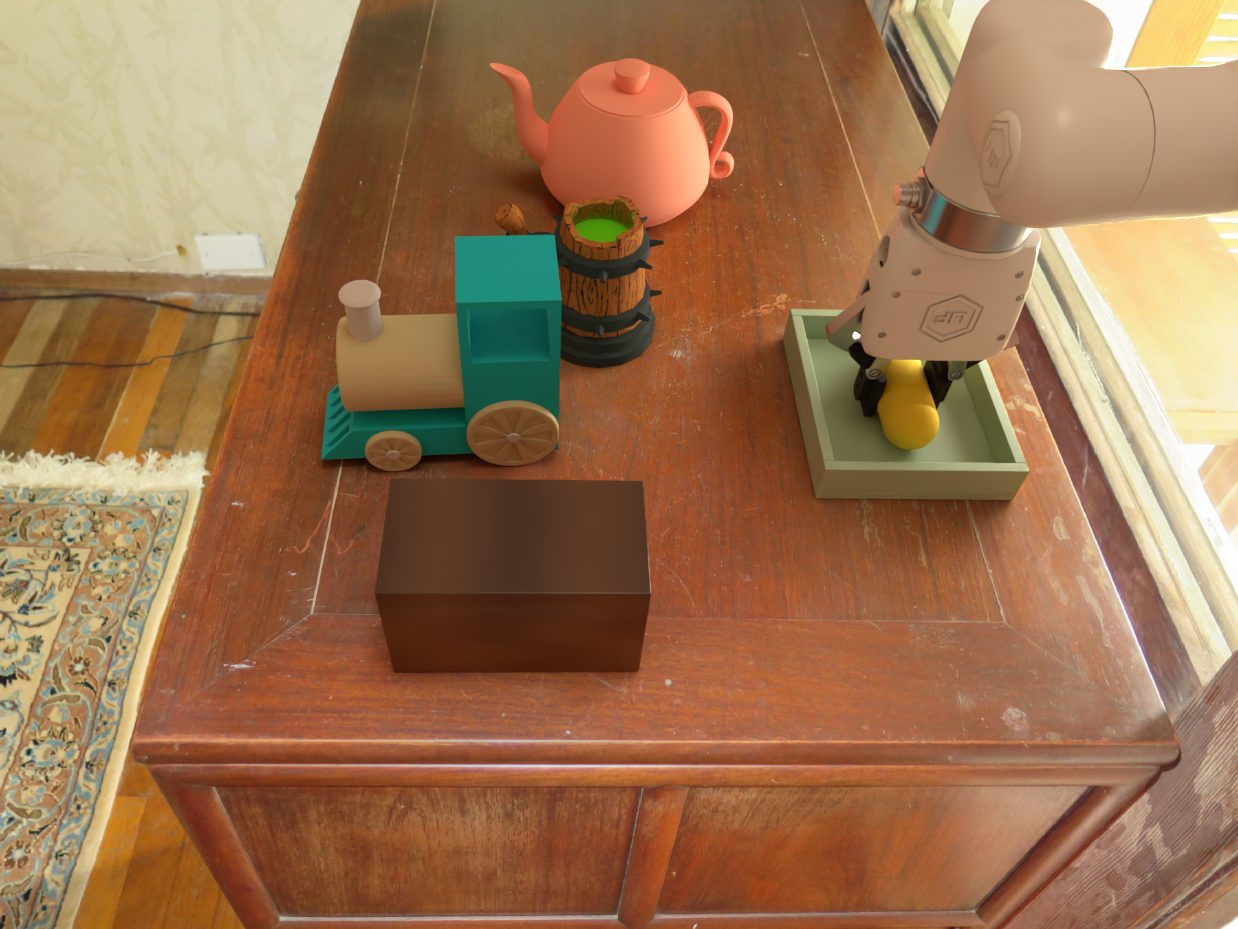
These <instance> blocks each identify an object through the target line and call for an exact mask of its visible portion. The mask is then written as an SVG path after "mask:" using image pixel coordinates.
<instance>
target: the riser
mask: <svg viewBox="0 0 1238 929" xmlns="http://www.w3.org/2000/svg"><path fill="white" fill-rule="evenodd" d="M388 488H389V489H388V495H387V503H386V510H385V515H384V516H385V517H384V524H383V531H382V537H381V545H380V553H379V559H378V560H379V561H378V566H377V572H376V581H375V587H374V596H375V601H376V606H377V610H378V613H379V618H380V620H381V626H382V630H383V634H384V639H385V642H386V646H387V650H388V656H389V659H390V663H391V668H392V672H393V673H517V672H518V673H523V672H524V673H535V672H536V673H544V672H545V673H546V672H547V673H550V672H553V673H557V672H558V673H560V672H561V673H562V672H563V673H564V672H566V673H567V672H570V673H572V672H574V673H575V672H576V673H577V672H581V673H582V672H586V673H587V672H591V673H593V672H639V671H640V666H641V660H642V654H643V649H644V648H643V647H644V641H645V634H646V628H647V622H648V616H649V610H650V605H651V604H650V603H651V599H652V585H651V570H650V569H651V568H650V555H649V554H650V553H649V540H648V537H649V536H648V524H647V510H646V509H647V507H646V495H645V481H644V480H609V479H607V480H604V479H603V480H601V479H598V480H597V479H595V480H593V479H592V480H590V479H589V480H588V479H514V478H513V479H512V478H511V479H510V478H509V479H508V478H507V479H504V478H503V479H502V478H496V479H495V478H413V477H412V478H411V477H410V478H408V477H407V478H405V477H404V478H403V477H402V478H400V477H395V478H394V477H392V478H390V481H389V487H388Z"/></svg>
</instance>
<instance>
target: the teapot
mask: <svg viewBox="0 0 1238 929" xmlns="http://www.w3.org/2000/svg"><path fill="white" fill-rule="evenodd" d="M489 67H490V68H491V70H492V71H494V72H495V73H496V74H497V75H499V77H501V78H502V79H503V80H504V81H505V82H506V84H507V86H508V87H509V88H510V89H509V90H510V91H511V94H512V99H513V108H514V123H515V124H514V125H515V131H516V135H517V138H518V143H519V144H520V146H521V148H522V150H523V151H524V153H525V154H526V155H527V156H528V157H529V158H530V159H531V160H533V161H534V162H536V164H538V165H539V170H540V174H541V177H542V180H543V182H544V184H545V186H546V188H547V189H548V191H549V192H550V193H551V195H552V196H553V197H554V198H555V199H556V201H558V202H559V203H560V204H561V205H562V206H563V207H565V205H566V204H567V203H572V202H574V203H577V202H580V201H582V200H585V199H593V198H606V199H613V200H615V198H616V196H617V195H619V196H622V197H625V198H628V199H630V200H631V201H632V202H633V203H634V205H635V206H636V207H637V208H638V209H639V215H640V217H641V218H643V217H645V216H647V218H648V219H647V220H646V221H645V222H644V223H643V225H644V226H645V228H646V229H647V228H652V227H655V226H659V225H662V224H665V223H667V222H669V221H671V220H673V219H674V218H677V216H680V215H681V214H683V213H684V212H685V211H687V210H688V209H690V208H691V207H692V206H694V204H696V202H698V200H700V198H701V196H702V195H703V194H704V192H705V191H706V188H707V186H708V183H709V179H712V180H717V181H718V180H723V179H725V178H727V177H729V176H730V175H731V174H732V172H733V171H734V166H735V160H734V157H733V156H732V154H731V153H729V152H728V151H723V148H724V146H725V144H726V142H727V140H728V138H729V135H730V133H731V129H732V126H733V122H734V114H733V109H732V106H731V104H730V103H729V101H728V100H727V99H726V98H725V97H724V96H722V95H720V94H719V93H716V92H715V91H711V90H698V91H693V92H691V93H690V94H689V93H688V91H687V90H686V88H685V86H684V85H683V84H682V83H681V80H679V79H678V77H676V76H675V75H673V74H672V73H671V72H670V71H668V70H666V69H665V68H662V67H660V66H657V65H654V64H651V63H648V62H647V61H645V60H642V59H640V58H634V57H631V58H629V57H627V58H622V59H619V60H615V61H614V60H613V61H607V62H604V63H599V64H597V65H595V66H592V67H591V68H588V69H587V70H586V71H584V72H583V73H582V74H581V75H580V76H579V77H578V78H577V79H576V80H575V82H574V83H573V84H571V86H570V87H569V89H568V90H567V91H566V93H565V95H564V96H563V97H562V99H561V100H560V102H559V103H558V104H557V105H556V107H555V109H554V111H553V113H552V115H551V117H550V119H549V121H548V122H547V121H544V120H543V119H542V118H541V117H539V116H538V114H537V113H536V110H535V108H534V100H533V91H532V86H531V84H530V82H529V79H528V78H527V76H526V75H525V74H524V73H523V72H521V71H520V70H519V69H517V68H515V67H513V66H509V65H507V64H503V63H499V62H491V63H489ZM700 107H710V108H713V109H716V110H717V111H719V112H720V113H721V120H720V124H719V126H718V130H717V132H716V134H715V136H714V138H713V140H712V142H711V144H710V145H709V141H708V138H707V137H708V136H707V134H706V130H705V126H704V124H703V122H702V119H701V116H700V113H699V112H698V110H697V108H700ZM716 162H723V164H722V165H716Z"/></svg>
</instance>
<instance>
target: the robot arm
mask: <svg viewBox="0 0 1238 929" xmlns="http://www.w3.org/2000/svg"><path fill="white" fill-rule="evenodd" d="M1116 35H1117V34H1116V31H1115V27H1114V25H1113V23H1112V21H1111V19H1110V18H1109V17H1108V15H1107V14H1106V13H1105V12H1104V11H1103V10H1102V9H1101V8H1099V7H1098V6H1097V5H1095V4H1094V3H1092V2H1090V1H1089V0H988V1H987V2H986V3H985V4H984V5H983V6H982V8H981V9H980V11H979V12H978V14H977V15H976V16H975V19H974V22H973V24H972V26H971V29H970V31H969V34H968V37H967V40H966V43H965V46H964V48H963V51H962V54H961V57H960V60H959V62H958V63H959V64H958V66H957V69H956V72H955V75H954V78H953V80H952V83H951V87H950V90H949V92H948V96H947V99H946V102H945V104H944V106H943V110H942V112H941V115H940V118H939V122H938V124H937V126H936V127H937V128H936V131H935V134H934V136H933V140H932V142H931V145H930V147H929V150H928V153H927V156H926V159H925V162H924V164H923V165H920V166H919V169H918V172H917V175H916V177H915V179H914V180H913V181H908V182H907V183H896V184H895V186H894V189H893V194H892V202H893V205H894V206H898V207H899V208H898V209H897V211H896V212H895V214H894V215H893V217H892V219H891V220H890V221H889V224H888V225H887V227H886V228H885V230H884V231H883V234H882V236H881V237H880V239H879V240H878V242H877V245H876V248H875V250H874V252H873V253H872V255H871V258H870V259H869V263H868V264H867V267H866V269H865V272H864V275H863V277H862V280H861V282H860V285H859V288H858V290H857V293H856V297H855V300H854V301H853V302H852V303H850V304H849V305H848V306H847V307H846V308H844V309H842V310H843V311H842V312H841V313H840V314H839V315H838V316H836V317H835V318H834V319H833V320H832V321H830V322H829V323H828V324H827V325H826V327H825V330H826V334H827V338H828V342H830V343H831V344H833V345H834V346H836V347H838V348H839V349H841V350H843V351H846V352H848V353H850V356H851V357H852V358H853V359H854V360H855V361H856V362H857V363H858V364H859V365H860V368H859V371H858V374H857V377H856V380H855V382H854V387H853V392H854V397H855V400H858V401H860V403H861V407H862V410H863V414H864V417H872V416H873V415H875V413H876V410H877V406H878V402H879V400H880V399H881V397H882V395H883V392H884V390H885V387H886V385H887V379H886V375H885V370H886V369H887V367H888V366H889V364H890V363H891V361H892V359H897V360H927V361H926V363H925V365H924V368H923V370H924V373H925V376H926V379H927V382H928V385H929V388H930V391H931V394H932V397H933V401H934V404H935V407H936V410H937V408H938V406H939V404H940V402H943V401H944V399H945V397H946V395H947V393H948V391H949V389H950V386H951V384H952V382H953V381H956V380H959V379H961V378H962V377H963V376H964V374H965V370H966V369H968V368H970V367H972V366H974V365H976V364H978V363H979V362H981V361H983V360H990V359H993V358H995V357H998V355H1000V354H1001V353H1002V352H1003V351H1006V350H1009V349H1012V348H1015V347H1016V346H1017V345H1018V344H1019V343H1020V338H1019V336H1018V332H1017V330H1016V325H1017V323H1018V320H1019V317H1020V315H1021V313H1022V310H1023V307H1024V305H1025V302H1026V299H1027V296H1028V293H1029V290H1030V287H1031V284H1032V280H1033V276H1034V272H1035V268H1036V263H1037V260H1038V256H1039V251H1040V245H1041V239H1042V238H1041V237H1042V235H1041V232H1040V230H1039V229H1052V228H1053V229H1055V228H1068V227H1070V228H1071V227H1084V226H1098V225H1099V226H1101V225H1105V224H1113V223H1125V222H1143V221H1157V220H1158V221H1159V220H1160V221H1161V220H1180V219H1181V220H1182V219H1192V218H1193V219H1194V218H1195V219H1196V218H1203V217H1204V218H1205V217H1212V216H1219V215H1224V214H1225V215H1226V214H1231V213H1236V212H1238V59H1234V60H1230V61H1226V62H1222V63H1216V64H1205V65H1204V64H1203V65H1167V66H1166V65H1165V66H1164V65H1163V66H1143V67H1142V66H1141V67H1140V66H1139V67H1120V68H1119V67H1117V68H1115V67H1114V68H1109V67H1110V65H1111V62H1112V59H1113V58H1114V54H1115V50H1116V46H1117V43H1116V42H1117V36H1116ZM859 328H861V332H859V331H857V330H858V329H859Z"/></svg>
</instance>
